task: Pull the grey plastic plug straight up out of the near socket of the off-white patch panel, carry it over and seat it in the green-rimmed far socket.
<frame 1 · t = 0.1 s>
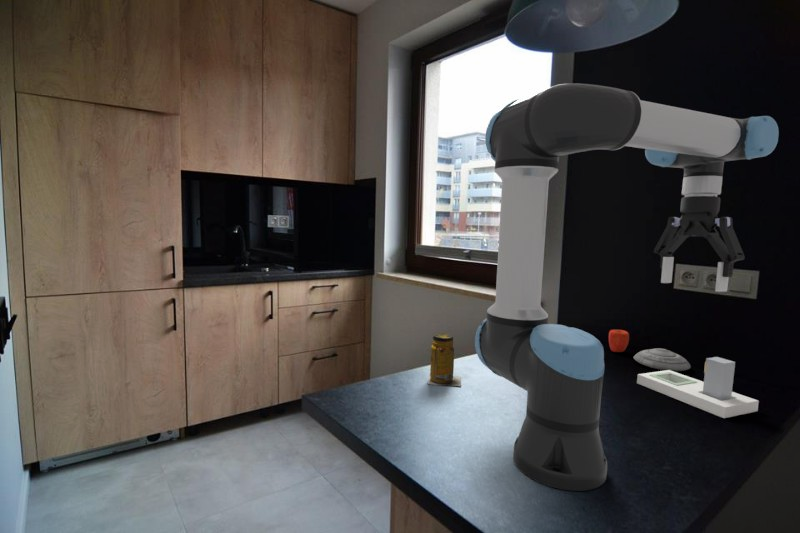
hand: (691, 286, 103), 28 cm above the worktop, fingers open, 13 cm apart
apple: (617, 352, 146), on the worktop
panel: (692, 396, 109), on the worktop
flying saucer: (660, 366, 133), on the worktop
condiment: (444, 381, 114), on the worktop
plug: (715, 405, 103), resting in panel
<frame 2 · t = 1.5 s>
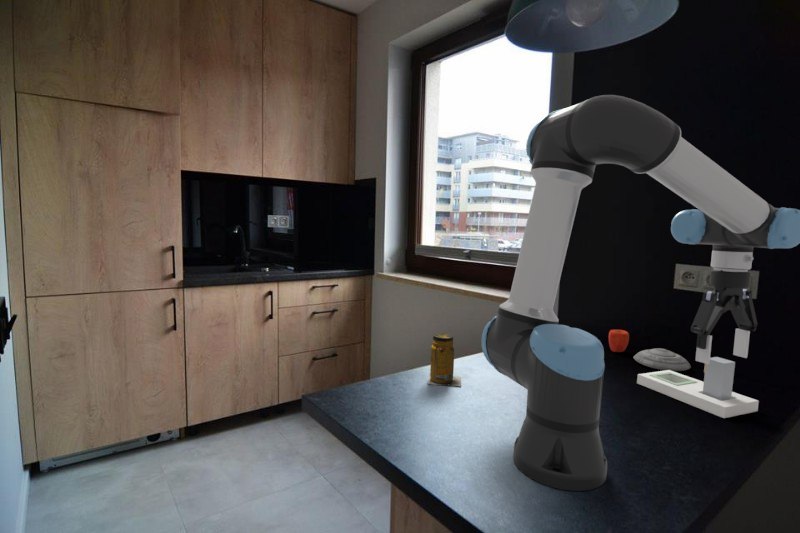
hand: (721, 359, 102), 11 cm above the worktop, fingers open, 13 cm apart
nothing on the worktop moved.
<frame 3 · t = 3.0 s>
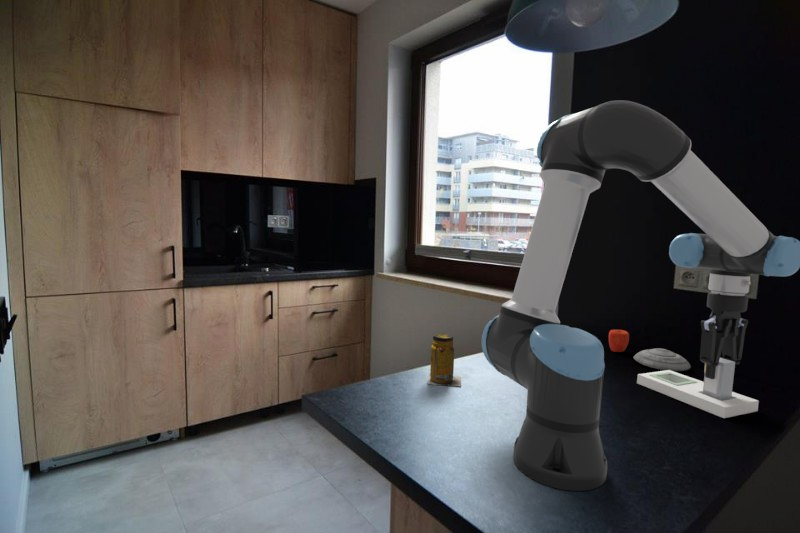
hand: (717, 390, 103), 4 cm above the worktop, fingers closed on plug, 4 cm apart
plug: (715, 405, 103), resting in panel, touching gripper
everything else where it was.
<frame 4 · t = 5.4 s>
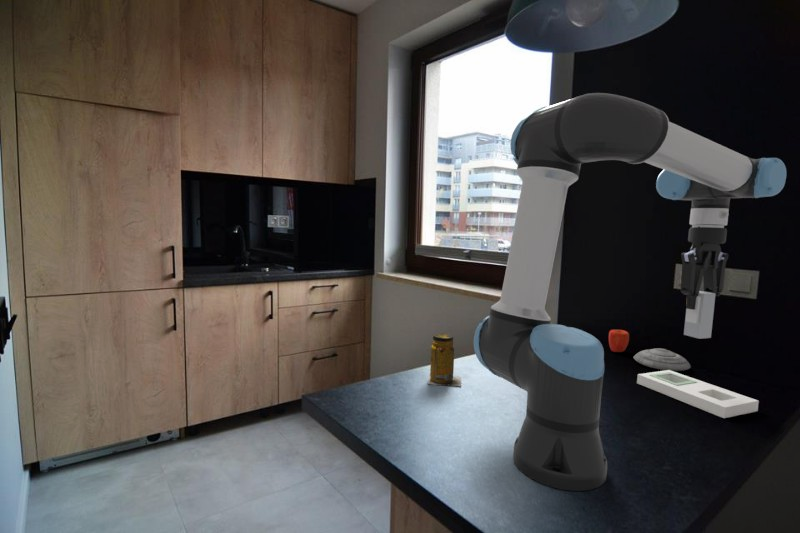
hand: (698, 321, 107), 19 cm above the worktop, fingers closed on plug, 4 cm apart
plug: (697, 336, 108), point 15 cm above the worktop, touching gripper
everything else where it was.
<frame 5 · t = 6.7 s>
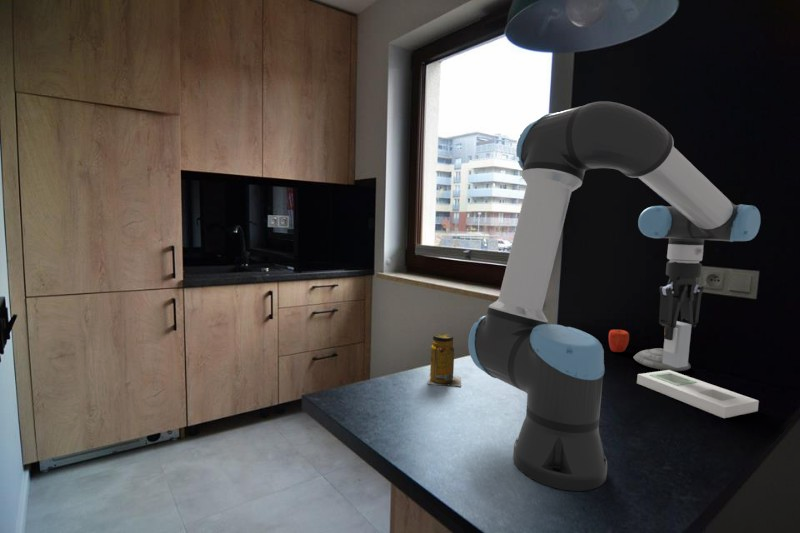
hand: (676, 350, 113), 10 cm above the worktop, fingers closed on plug, 4 cm apart
plug: (674, 364, 113), point 6 cm above the worktop, touching gripper
everything else where it was.
when the fingers open (5 cm above the worktop, at t = 7.9 s): plug drops 1 cm, resting in panel.
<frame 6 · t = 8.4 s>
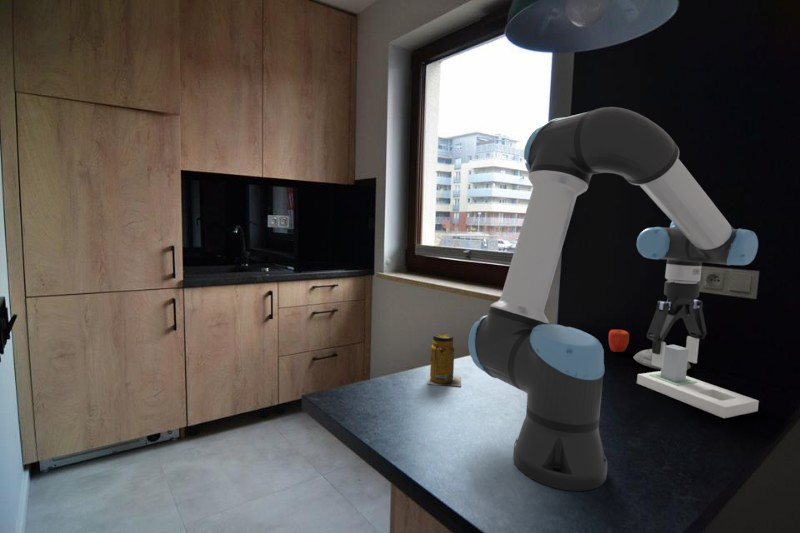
hand: (674, 364, 113), 7 cm above the worktop, fingers open, 12 cm apart
plug: (671, 388, 114), resting in panel
everything else where it was.
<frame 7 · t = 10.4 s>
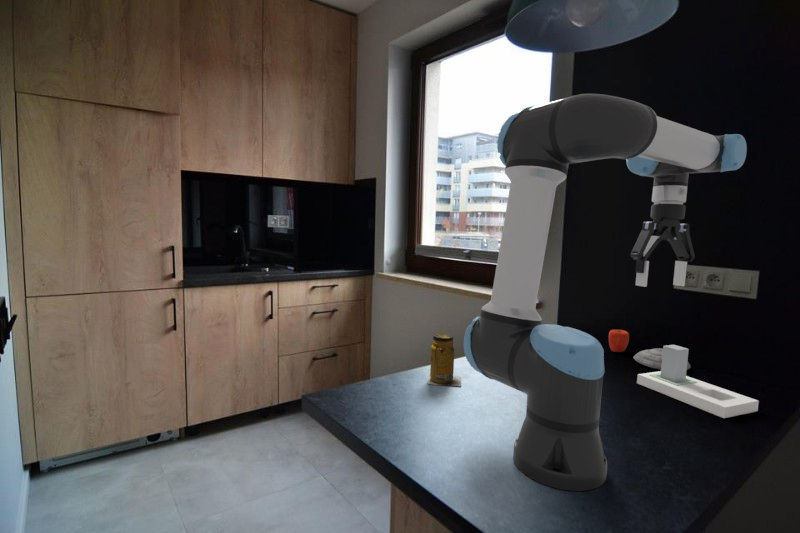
hand: (660, 285, 113), 27 cm above the worktop, fingers open, 13 cm apart
nothing on the worktop moved.
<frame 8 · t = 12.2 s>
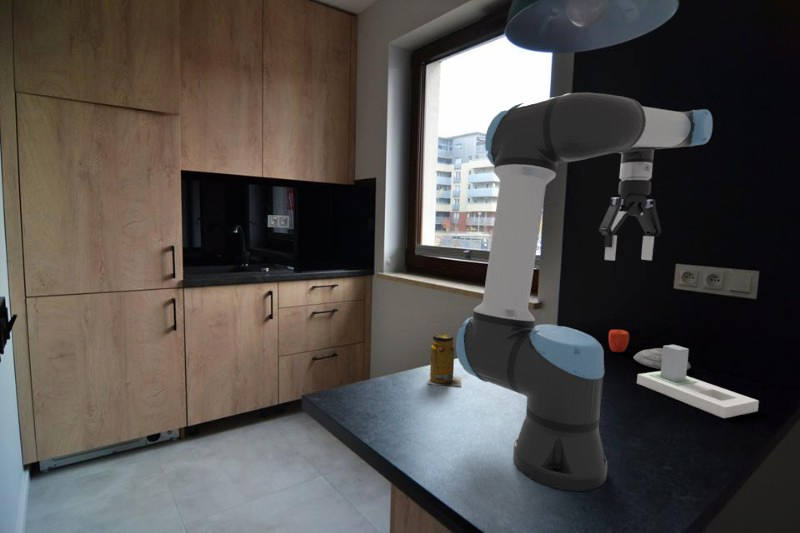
hand: (628, 260, 117), 33 cm above the worktop, fingers open, 13 cm apart
nothing on the worktop moved.
at the end: plug 0.0 cm from the target spot on the panel, point 0.0 cm above the panel's base; plug tilted 0°; the gripper is holding nothing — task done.
